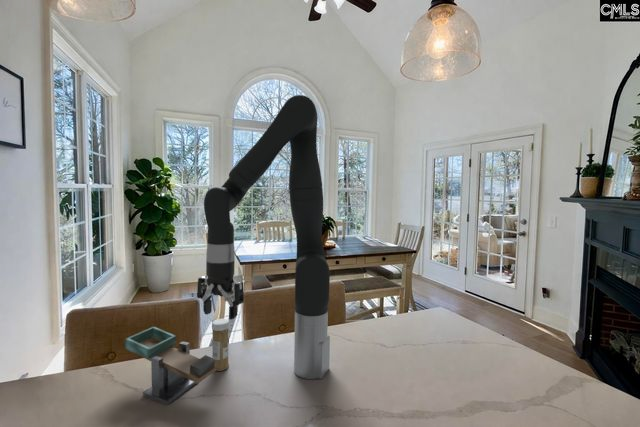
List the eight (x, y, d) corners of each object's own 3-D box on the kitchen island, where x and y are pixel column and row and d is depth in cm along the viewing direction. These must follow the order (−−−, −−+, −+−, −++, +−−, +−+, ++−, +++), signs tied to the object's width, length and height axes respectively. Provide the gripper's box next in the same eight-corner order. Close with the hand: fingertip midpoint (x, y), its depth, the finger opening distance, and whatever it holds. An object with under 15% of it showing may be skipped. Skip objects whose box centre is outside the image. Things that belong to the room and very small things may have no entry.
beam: (218, 368, 80) (220, 354, 79) (194, 386, 72) (196, 371, 72) (152, 338, 88) (153, 326, 88) (124, 352, 81) (125, 338, 80)
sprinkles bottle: (231, 368, 90) (231, 322, 90) (214, 373, 88) (214, 325, 87) (226, 361, 94) (226, 316, 93) (210, 365, 92) (210, 320, 91)
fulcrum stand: (198, 382, 84) (198, 344, 83) (167, 405, 74) (166, 363, 74) (175, 375, 87) (175, 339, 86) (142, 396, 78) (142, 356, 77)
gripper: (250, 259, 90) (249, 315, 91) (209, 254, 95) (209, 307, 96) (233, 264, 83) (232, 325, 84) (190, 258, 88) (190, 316, 89)
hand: (219, 316), depth 90 cm, fingers open, 8 cm apart
